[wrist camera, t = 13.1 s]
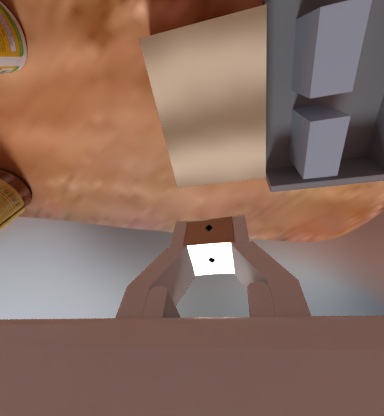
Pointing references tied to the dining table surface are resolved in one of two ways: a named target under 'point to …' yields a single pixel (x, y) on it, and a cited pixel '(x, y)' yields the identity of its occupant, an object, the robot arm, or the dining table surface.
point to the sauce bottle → (12, 197)
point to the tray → (324, 101)
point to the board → (212, 96)
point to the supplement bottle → (11, 42)
